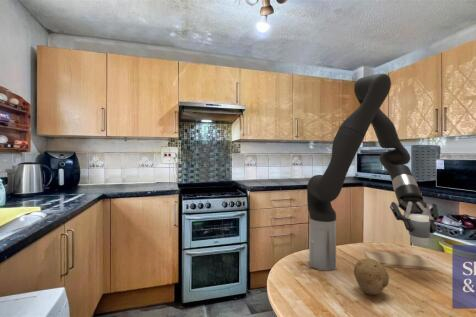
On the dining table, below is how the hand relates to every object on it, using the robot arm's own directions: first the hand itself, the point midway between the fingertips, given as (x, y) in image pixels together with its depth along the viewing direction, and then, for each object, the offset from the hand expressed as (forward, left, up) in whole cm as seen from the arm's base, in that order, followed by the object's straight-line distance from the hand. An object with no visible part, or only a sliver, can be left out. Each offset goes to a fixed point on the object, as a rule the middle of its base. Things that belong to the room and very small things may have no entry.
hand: (422, 231), depth 79 cm
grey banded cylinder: (0, +2, -4) cm, 5 cm away
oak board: (-2, +15, -16) cm, 22 cm away
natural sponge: (-18, -11, -16) cm, 27 cm away
